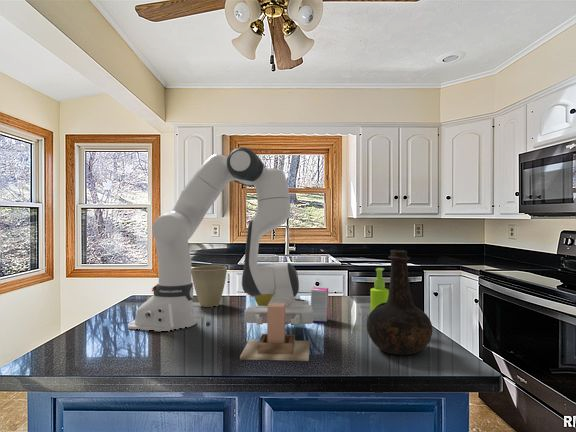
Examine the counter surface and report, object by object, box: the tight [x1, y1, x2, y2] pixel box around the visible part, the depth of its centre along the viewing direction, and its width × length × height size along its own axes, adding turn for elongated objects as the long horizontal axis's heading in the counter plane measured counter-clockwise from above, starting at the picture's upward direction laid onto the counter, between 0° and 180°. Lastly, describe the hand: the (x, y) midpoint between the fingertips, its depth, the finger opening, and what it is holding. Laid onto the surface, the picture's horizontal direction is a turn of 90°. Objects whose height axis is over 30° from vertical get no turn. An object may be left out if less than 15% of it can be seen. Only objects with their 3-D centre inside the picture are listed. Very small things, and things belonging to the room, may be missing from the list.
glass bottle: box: [366, 249, 433, 356], centre depth 112 cm, size 18×18×28 cm
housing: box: [239, 333, 311, 362], centre depth 111 cm, size 18×14×3 cm
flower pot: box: [254, 293, 275, 306], centre depth 167 cm, size 9×9×9 cm
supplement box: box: [310, 286, 329, 324], centre depth 143 cm, size 6×6×12 cm
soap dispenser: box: [369, 267, 389, 313], centre depth 133 cm, size 6×7×20 cm
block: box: [266, 303, 286, 343], centre depth 111 cm, size 4×4×12 cm
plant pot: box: [191, 265, 228, 308], centre depth 168 cm, size 15×15×16 cm
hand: (276, 321), depth 110 cm, fingers open, 8 cm apart
